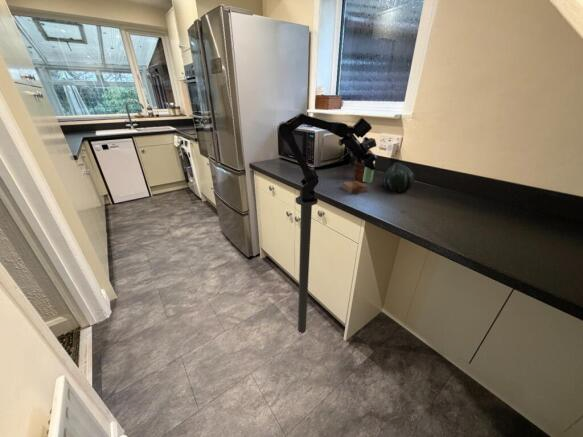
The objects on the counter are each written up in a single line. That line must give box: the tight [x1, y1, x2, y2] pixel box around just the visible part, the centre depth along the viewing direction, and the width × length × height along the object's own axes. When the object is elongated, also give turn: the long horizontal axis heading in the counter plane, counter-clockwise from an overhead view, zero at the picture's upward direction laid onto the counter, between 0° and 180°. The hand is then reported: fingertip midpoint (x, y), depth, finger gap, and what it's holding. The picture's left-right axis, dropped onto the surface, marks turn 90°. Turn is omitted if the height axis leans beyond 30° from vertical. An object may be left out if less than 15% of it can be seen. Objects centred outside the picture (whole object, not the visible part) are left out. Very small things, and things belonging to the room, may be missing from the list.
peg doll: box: [363, 160, 376, 184], centre depth 114 cm, size 4×4×12 cm
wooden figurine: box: [353, 149, 373, 183], centre depth 134 cm, size 12×6×18 cm, turn 128°
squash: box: [382, 162, 415, 193], centre depth 122 cm, size 14×15×15 cm
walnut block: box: [341, 180, 368, 195], centre depth 123 cm, size 9×9×3 cm
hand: (372, 168), depth 114 cm, fingers closed on peg doll, 4 cm apart
